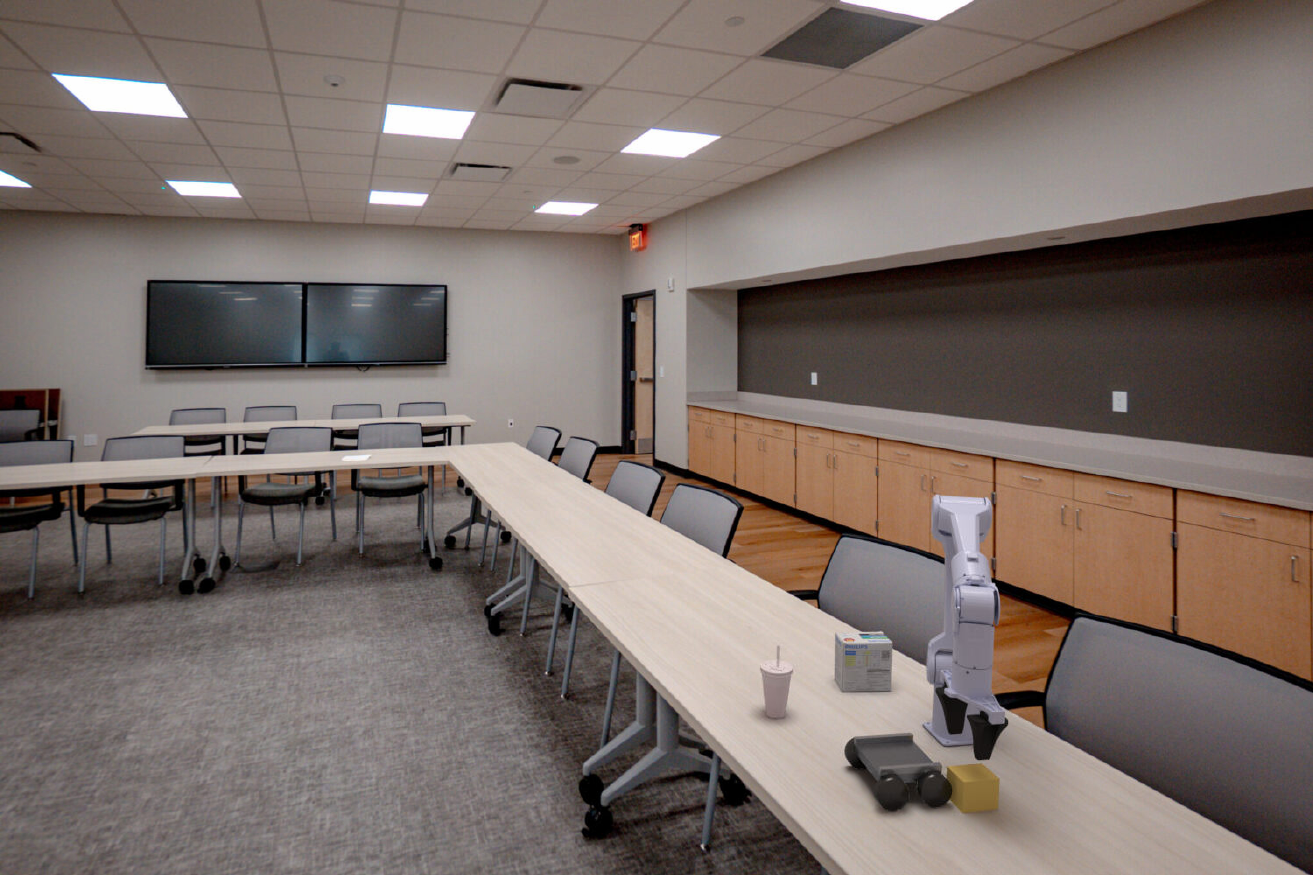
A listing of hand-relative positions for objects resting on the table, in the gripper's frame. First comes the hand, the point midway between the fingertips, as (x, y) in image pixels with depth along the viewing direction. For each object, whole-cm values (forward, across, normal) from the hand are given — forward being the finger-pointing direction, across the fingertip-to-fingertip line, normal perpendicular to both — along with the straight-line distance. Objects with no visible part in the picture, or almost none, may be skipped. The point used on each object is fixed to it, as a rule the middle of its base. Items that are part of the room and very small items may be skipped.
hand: (968, 745), depth 114 cm
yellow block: (+8, +2, 0) cm, 9 cm away
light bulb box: (+9, -40, 0) cm, 41 cm away
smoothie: (+9, -30, -22) cm, 38 cm away
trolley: (+8, -4, -10) cm, 14 cm away
